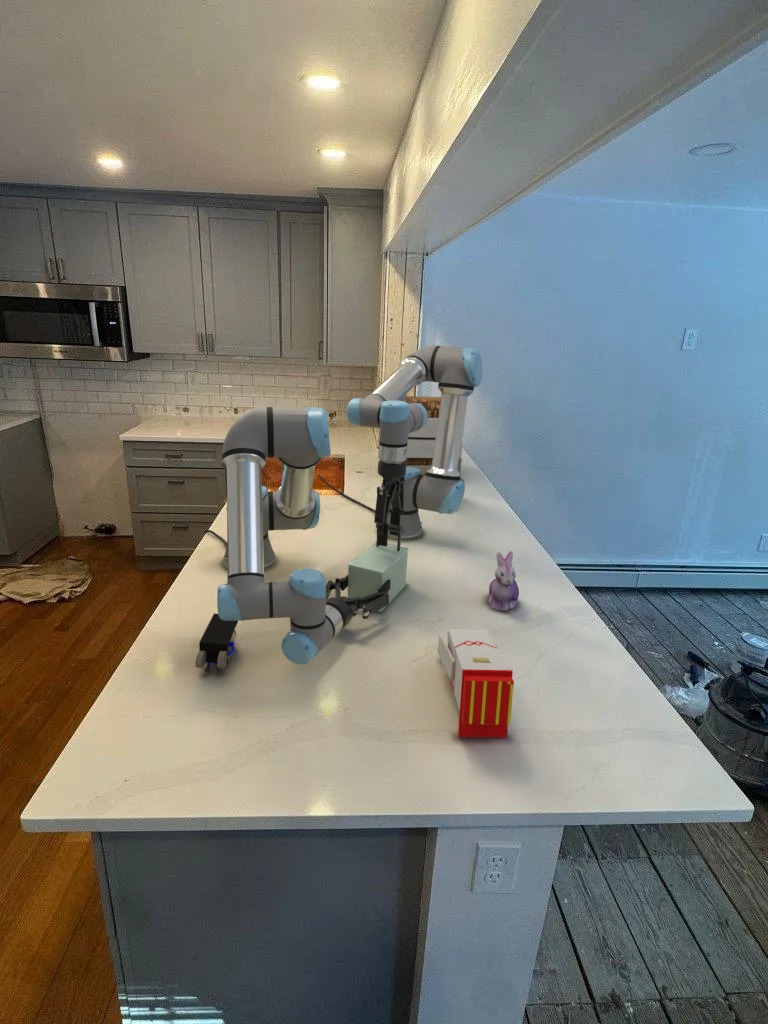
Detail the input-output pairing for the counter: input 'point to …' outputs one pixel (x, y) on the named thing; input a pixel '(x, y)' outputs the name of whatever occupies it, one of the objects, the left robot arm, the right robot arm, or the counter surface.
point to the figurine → (503, 584)
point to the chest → (377, 580)
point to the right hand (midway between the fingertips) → (388, 539)
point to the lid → (380, 555)
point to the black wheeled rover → (216, 643)
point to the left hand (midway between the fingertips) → (370, 580)
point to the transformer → (425, 434)
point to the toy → (478, 682)
